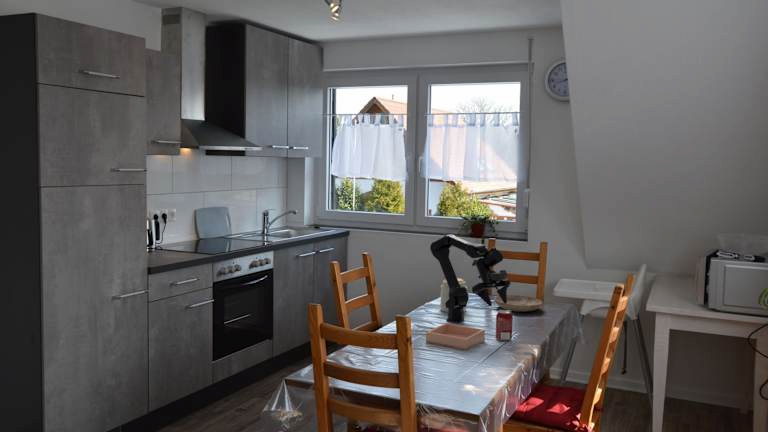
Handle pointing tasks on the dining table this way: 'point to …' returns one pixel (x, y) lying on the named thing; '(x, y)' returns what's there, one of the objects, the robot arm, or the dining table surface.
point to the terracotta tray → (455, 336)
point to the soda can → (504, 325)
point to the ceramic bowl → (519, 303)
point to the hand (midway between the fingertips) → (498, 304)
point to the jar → (446, 294)
